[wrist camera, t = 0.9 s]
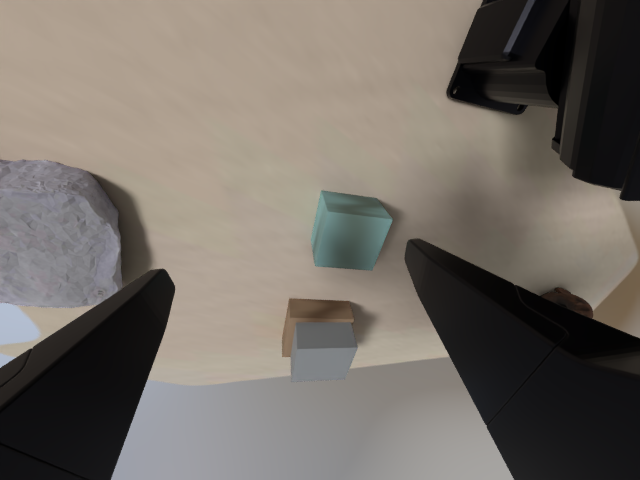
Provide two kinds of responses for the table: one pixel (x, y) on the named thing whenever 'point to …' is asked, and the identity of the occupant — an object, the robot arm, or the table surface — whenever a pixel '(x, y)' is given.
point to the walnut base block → (312, 316)
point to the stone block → (56, 236)
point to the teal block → (348, 231)
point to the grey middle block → (322, 351)
